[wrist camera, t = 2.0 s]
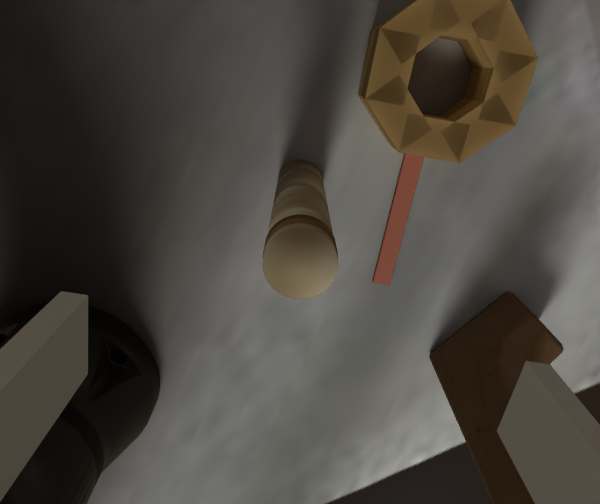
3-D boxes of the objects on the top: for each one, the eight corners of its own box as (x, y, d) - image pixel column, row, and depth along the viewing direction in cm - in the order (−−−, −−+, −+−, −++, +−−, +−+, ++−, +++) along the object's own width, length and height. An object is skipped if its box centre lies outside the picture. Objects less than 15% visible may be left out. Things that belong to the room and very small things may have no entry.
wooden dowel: (274, 199, 37) (256, 294, 22) (281, 155, 35) (267, 222, 21) (318, 207, 37) (330, 305, 22) (327, 163, 36) (346, 235, 21)
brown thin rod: (388, 283, 39) (389, 285, 39) (372, 280, 39) (373, 282, 39) (423, 151, 35) (425, 152, 35) (405, 148, 35) (406, 149, 35)
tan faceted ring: (349, 135, 35) (355, 144, 31) (380, -17, 31) (391, -28, 27) (480, 158, 35) (501, 170, 32) (525, 11, 32) (555, 5, 28)
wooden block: (508, 288, 40) (660, 454, 23) (540, 320, 41) (707, 501, 24) (426, 354, 42) (509, 548, 25) (458, 383, 43) (558, 586, 26)
